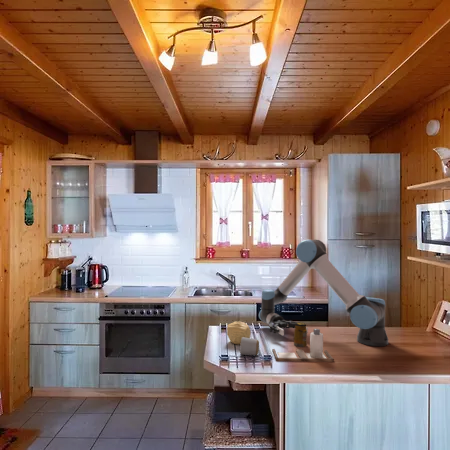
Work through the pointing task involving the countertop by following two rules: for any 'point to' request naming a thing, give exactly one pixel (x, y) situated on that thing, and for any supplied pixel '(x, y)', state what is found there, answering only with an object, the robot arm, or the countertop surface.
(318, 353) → the white bottle
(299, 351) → the walnut tray
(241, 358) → the countertop surface
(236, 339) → the sculpture
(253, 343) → the ceramic mug
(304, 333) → the condiment
